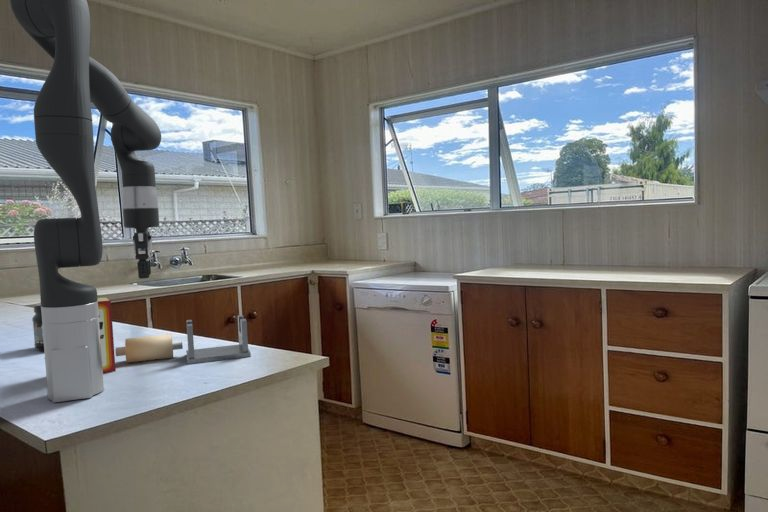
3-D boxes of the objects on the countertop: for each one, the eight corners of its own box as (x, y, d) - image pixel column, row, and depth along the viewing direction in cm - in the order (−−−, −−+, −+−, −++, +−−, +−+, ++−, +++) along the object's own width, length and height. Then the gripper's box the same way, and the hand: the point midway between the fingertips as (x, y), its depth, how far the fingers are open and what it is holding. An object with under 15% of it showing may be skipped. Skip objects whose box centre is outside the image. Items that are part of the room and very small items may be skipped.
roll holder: (250, 356, 126) (248, 320, 125) (187, 364, 121) (185, 326, 120) (245, 347, 135) (243, 314, 135) (186, 354, 130) (184, 319, 130)
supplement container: (73, 341, 151) (70, 299, 151) (85, 346, 144) (82, 302, 143) (30, 348, 144) (26, 304, 143) (40, 354, 137) (37, 307, 136)
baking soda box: (112, 365, 123) (107, 295, 122) (115, 371, 117) (110, 298, 116) (64, 372, 118) (59, 300, 117) (65, 379, 112) (59, 303, 111)
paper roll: (183, 354, 132) (181, 331, 132) (183, 358, 126) (181, 334, 126) (118, 362, 127) (116, 338, 127) (115, 366, 121) (113, 341, 121)
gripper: (157, 205, 119) (161, 278, 120) (159, 207, 132) (163, 273, 133) (119, 206, 116) (124, 280, 117) (125, 208, 129) (129, 275, 131)
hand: (145, 276), depth 125 cm, fingers open, 8 cm apart
